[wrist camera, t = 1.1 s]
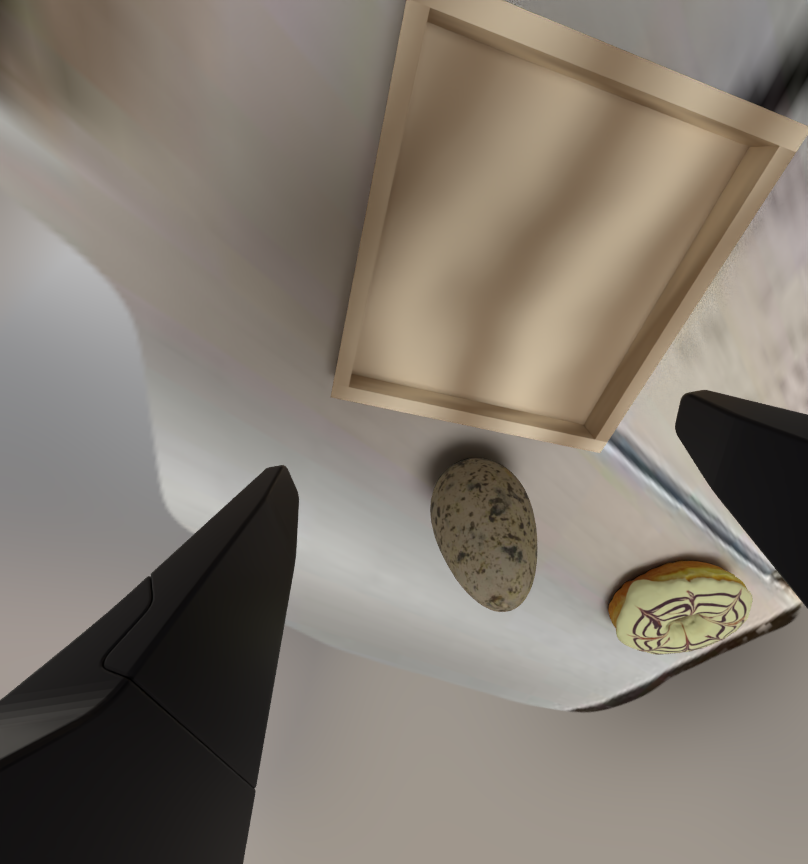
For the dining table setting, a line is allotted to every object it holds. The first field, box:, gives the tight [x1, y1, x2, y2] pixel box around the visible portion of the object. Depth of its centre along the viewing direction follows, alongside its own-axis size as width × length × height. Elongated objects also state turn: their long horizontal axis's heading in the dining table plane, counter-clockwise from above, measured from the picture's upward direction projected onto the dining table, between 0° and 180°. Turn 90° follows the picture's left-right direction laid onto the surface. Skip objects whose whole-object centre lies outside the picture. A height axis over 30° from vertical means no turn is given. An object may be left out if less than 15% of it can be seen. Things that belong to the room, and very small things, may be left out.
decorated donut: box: [608, 561, 752, 654], centre depth 35 cm, size 10×11×4 cm
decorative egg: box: [430, 458, 537, 612], centre depth 24 cm, size 6×6×10 cm
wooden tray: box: [331, 0, 808, 453], centre depth 19 cm, size 16×16×2 cm
